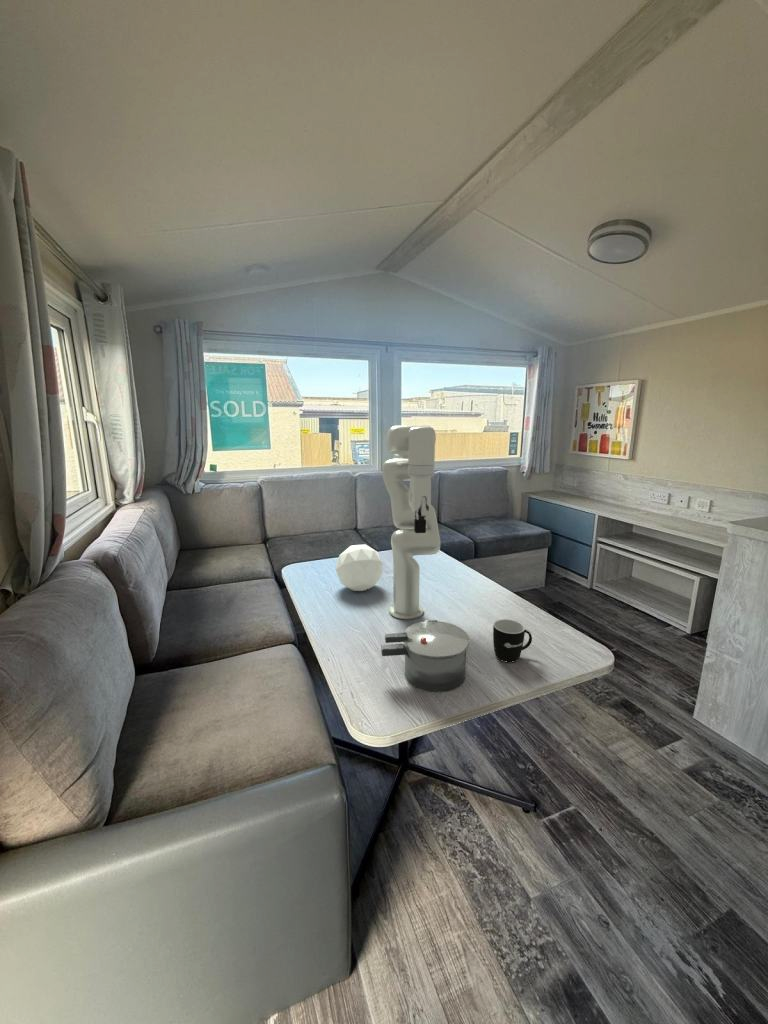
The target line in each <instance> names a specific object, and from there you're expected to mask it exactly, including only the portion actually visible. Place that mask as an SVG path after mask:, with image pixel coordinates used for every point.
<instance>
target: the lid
mask: <svg viewBox="0 0 768 1024" xmlns="http://www.w3.org/2000/svg"><path fill="white" fill-rule="evenodd" d="M384 642H385V644H392V643H393V644H395V643H403V644H404V645H405V646H406V647H407V648H408V649H409V650H410V651H412V652H414V653H416V654H418V655H421V656H425V657H430V658H449V657H454V656H457V655H460V654H461V653H463V652H464V651H465V650H466V649H468V647H469V645H470V644H469V643H470V637H469V635H468V633H467V632H466V631H465V630H464V629H462V628H461V627H459V626H457V625H455V624H452V623H450V622H444V621H441V620H440V621H438V620H437V619H433V620H432V619H431V620H420V621H419V622H415V623H413V624H410V626H408V627H406V628H405V629H404V631H403V632H396V633H384Z"/></svg>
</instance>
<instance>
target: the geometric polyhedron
mask: <svg viewBox="0 0 768 1024" xmlns="http://www.w3.org/2000/svg"><path fill="white" fill-rule="evenodd" d="M335 566H336V567H335V572H336V574H337V577H338V579H339V581H340V584H341V585H343V586H344V587H346V588H348V589H349V590H352V592H364V591H368V590H370V589H371V588H373V587H374V586H376V585H377V583H378V582H379V580H380V578H381V577H382V575H383V563H382V560H381V558H380V555H379V552H378V551H377V550H375V549H374V548H372V547H371V546H369V545H367V544H366V543H365V544H354V545H353V544H352V545H350V546H348V548H346V549H344V551H343V552H342V553H340V554H339V556H338V558H337V562H336V565H335ZM367 589H368V590H367Z"/></svg>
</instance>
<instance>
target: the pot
mask: <svg viewBox="0 0 768 1024" xmlns="http://www.w3.org/2000/svg"><path fill="white" fill-rule="evenodd" d="M380 647H381V648H380V649H381V650H380V651H381V652H380V653H381V657H392V656H394V657H395V656H404V669H403V670H404V671H403V672H404V677H405V679H406V680H407V682H408V683H410V685H412V686H413V687H415V688H417V689H419V690H423V691H425V692H430V693H445V692H446V693H447V692H452V691H454V690H456V689H458V688H460V687H461V686H462V685H463V684H464V683H465V680H466V670H467V669H466V668H467V651H468V650H467V649H468V648H467V649H466V650H465V651H464V652H463V653H461V654H460V655H457V656H454V657H449V658H430V657H425V656H421V655H418V654H416V653H414V652H412V651H410V650H409V649H408V648H407V647H406V646H405V645H404V643H396V644H395V643H393V644H392V643H388V644H381V646H380Z"/></svg>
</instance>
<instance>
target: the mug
mask: <svg viewBox="0 0 768 1024" xmlns="http://www.w3.org/2000/svg"><path fill="white" fill-rule="evenodd" d="M526 634H528V641H527V642H526V643H525V644H524V640H525V635H526ZM492 638H493V639H492V642H493V648H494V654H495V657H496V656H497V657H498V658H499V659H500V660H499V659H498V658H497V657H496V658H497V659H498V660H499V661H501V660H503V661H507V662H506V663H508V662H512V661H515V662H517V661H518V660H519V658H520V657H521V654H522V652H523V651H524V650H525V649H527V648H529V647H530V645H531V644H532V642H533V637H532V634H531V632H530V631H529V630H527V629H526V627H525V625H523V624H522V623H521V622H519V621H517V620H515V619H514V620H513V619H506V618H502V619H498V620H495V621H494V622H493V627H492ZM516 660H517V661H516ZM503 661H502V662H503ZM512 663H513V662H512Z"/></svg>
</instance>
